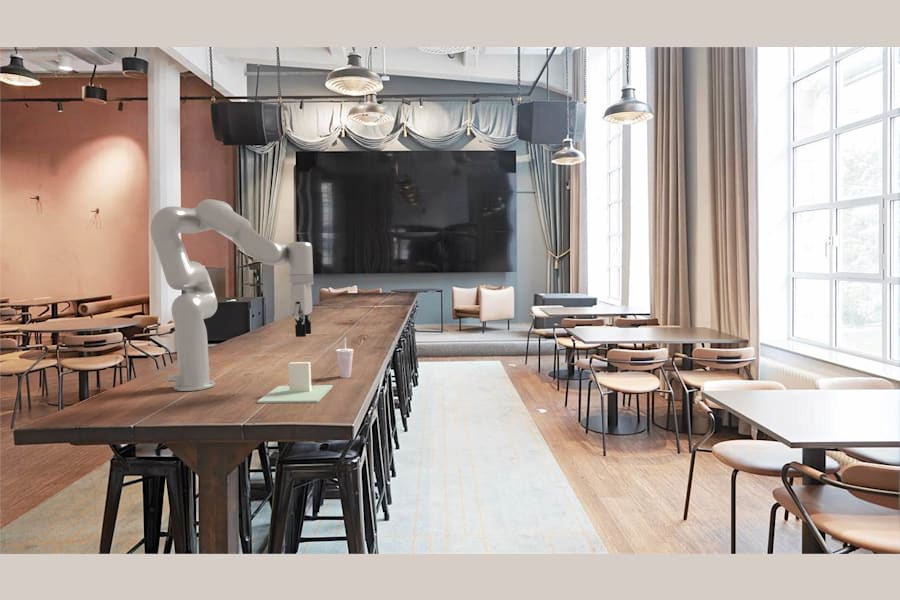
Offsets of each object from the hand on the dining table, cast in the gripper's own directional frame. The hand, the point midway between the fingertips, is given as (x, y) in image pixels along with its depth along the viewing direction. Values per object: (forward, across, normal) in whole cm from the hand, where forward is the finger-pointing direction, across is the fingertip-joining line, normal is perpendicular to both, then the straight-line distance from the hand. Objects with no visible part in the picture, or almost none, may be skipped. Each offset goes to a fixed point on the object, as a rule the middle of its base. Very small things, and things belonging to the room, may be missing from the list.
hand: (303, 334), depth 190 cm
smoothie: (+18, -16, +10) cm, 26 cm away
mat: (+18, +10, 0) cm, 20 cm away
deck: (+17, +7, 0) cm, 18 cm away
